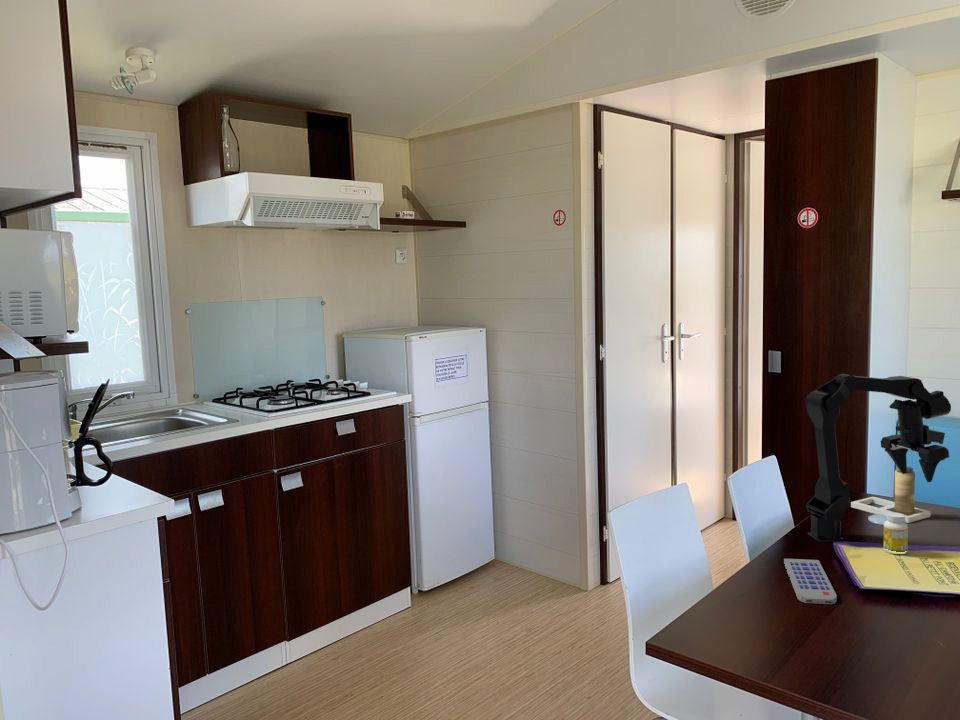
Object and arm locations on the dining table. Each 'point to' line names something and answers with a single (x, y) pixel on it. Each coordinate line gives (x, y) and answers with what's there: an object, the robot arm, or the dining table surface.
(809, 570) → the remote control
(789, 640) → the dining table surface
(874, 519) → the coaster
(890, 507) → the holder
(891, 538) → the supplement bottle
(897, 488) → the plug
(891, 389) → the robot arm
